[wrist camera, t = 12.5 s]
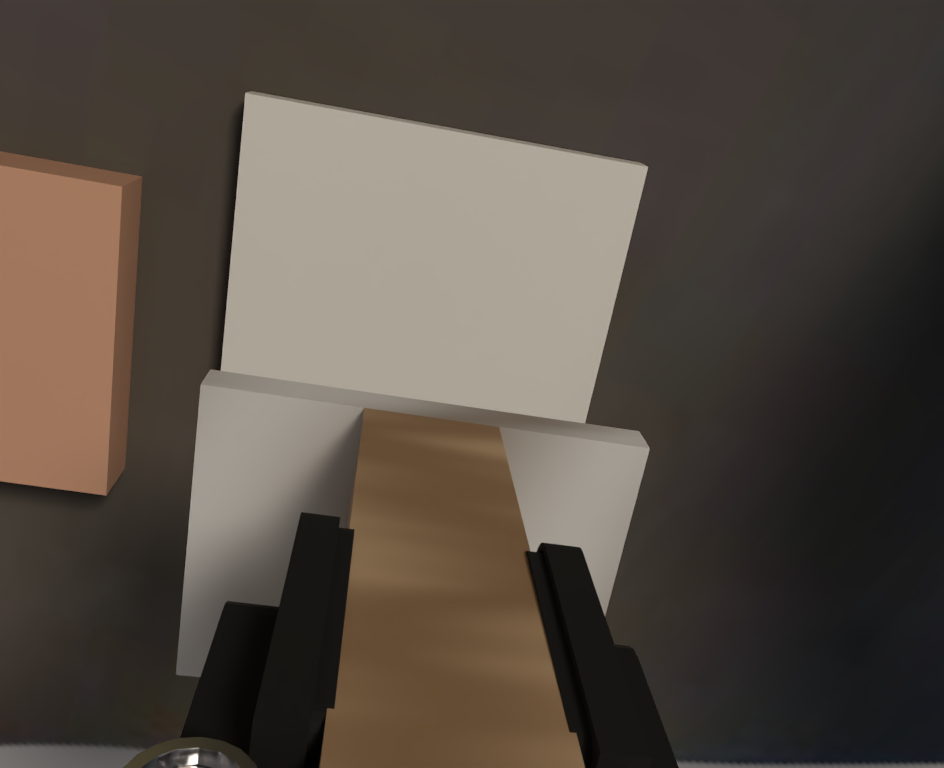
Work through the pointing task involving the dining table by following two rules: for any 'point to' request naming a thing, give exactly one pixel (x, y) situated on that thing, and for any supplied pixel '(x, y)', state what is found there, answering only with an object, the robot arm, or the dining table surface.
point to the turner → (409, 556)
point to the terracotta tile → (65, 321)
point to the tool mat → (423, 259)
